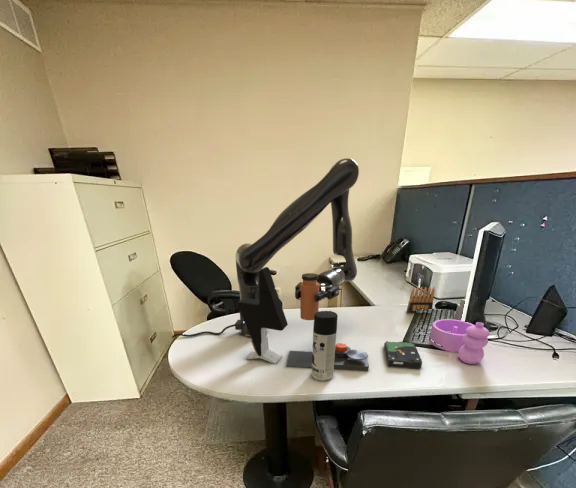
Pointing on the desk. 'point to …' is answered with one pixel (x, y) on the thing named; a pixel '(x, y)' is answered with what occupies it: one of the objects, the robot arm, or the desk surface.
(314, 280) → the orange bottle
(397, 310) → the desk surface
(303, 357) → the plate
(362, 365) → the grey base plate
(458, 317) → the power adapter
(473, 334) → the container set
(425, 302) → the ammunition clip
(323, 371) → the spray can
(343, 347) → the power button
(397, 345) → the disk drive
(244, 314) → the award
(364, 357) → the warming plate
